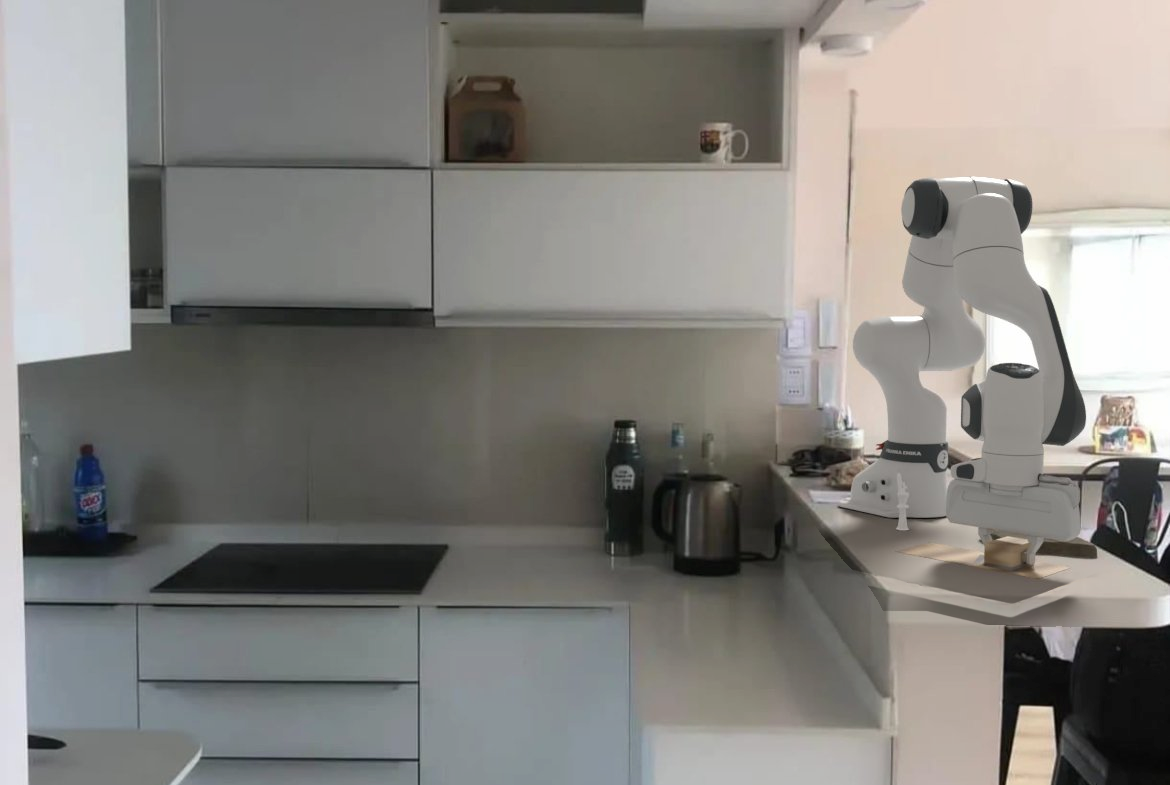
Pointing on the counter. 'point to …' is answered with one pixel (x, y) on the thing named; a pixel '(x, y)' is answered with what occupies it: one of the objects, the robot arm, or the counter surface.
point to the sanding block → (1005, 553)
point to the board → (978, 560)
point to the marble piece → (1056, 545)
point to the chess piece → (902, 508)
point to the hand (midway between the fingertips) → (1009, 560)
